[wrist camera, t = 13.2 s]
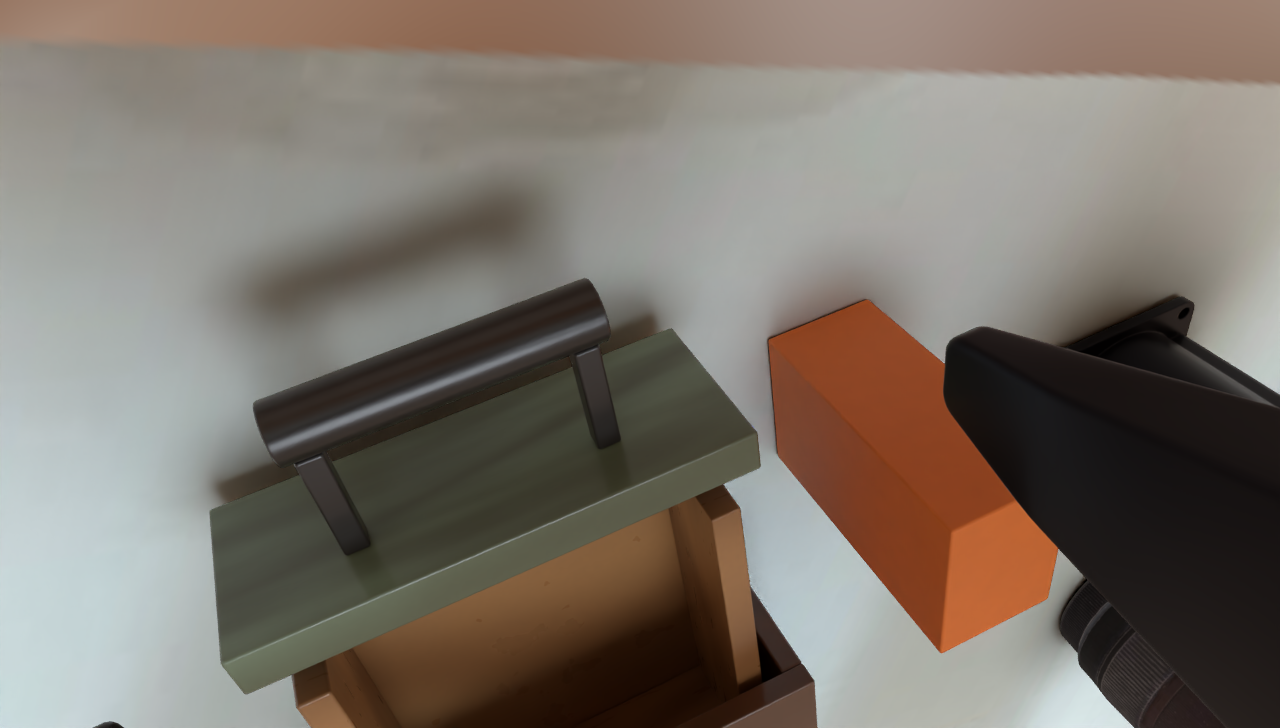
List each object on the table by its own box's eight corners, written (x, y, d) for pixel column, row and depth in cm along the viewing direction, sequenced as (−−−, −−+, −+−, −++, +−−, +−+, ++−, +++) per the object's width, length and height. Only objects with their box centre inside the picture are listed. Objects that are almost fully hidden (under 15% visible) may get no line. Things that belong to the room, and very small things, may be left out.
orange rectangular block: (766, 339, 27) (952, 532, 21) (867, 298, 28) (1075, 472, 22) (777, 456, 31) (941, 655, 24) (867, 416, 31) (1049, 599, 25)
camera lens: (1201, 516, 47) (1532, 775, 35) (1135, 625, 51) (1412, 887, 40) (1085, 549, 43) (1409, 845, 32) (1025, 663, 48) (1293, 958, 37)
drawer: (114, 372, 19) (107, 524, 16) (647, 183, 22) (743, 277, 18) (400, 792, 31) (432, 932, 28) (723, 637, 34) (790, 746, 30)
